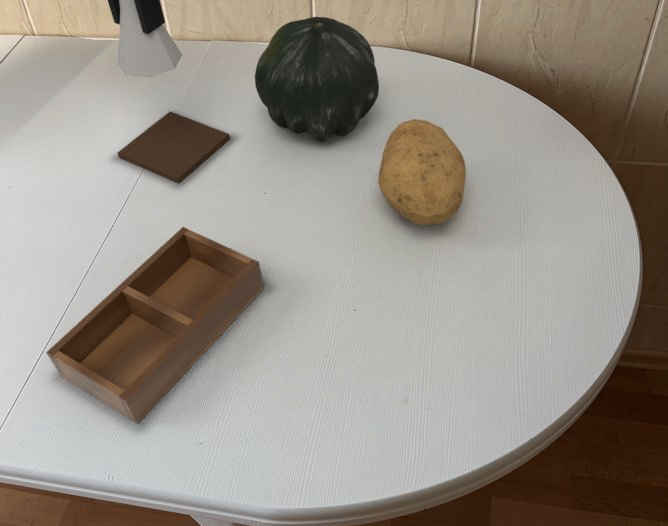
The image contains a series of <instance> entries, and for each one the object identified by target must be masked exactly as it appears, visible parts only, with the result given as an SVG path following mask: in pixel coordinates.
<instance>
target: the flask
mask: <svg viewBox="0 0 668 526" xmlns="http://www.w3.org/2000/svg"><path fill="white" fill-rule="evenodd" d="M119 3H120V25H119V34H118V35H119V39H118V51H117V65H118V66H119V68H120V70H121V71H122V73H123V75H124V76H125V77H143V78H152V77H154V76H158V75H161V74H163V73H167V72H171V71H174V70H176V69H177V66H178V65H179V62H180V60H181V59H182V57H183V53H182V52H181V50H180V48H179V47H178V46H177V44H176V43H175V41H174V39H173V38H172V36H171V35H170V33H169V31H168V30H167V29H166V27H165V25H164V24H162V25H161V26H160V27H158V28H157V29H155V30H154V31H152V32H151V33H149V34H146V33H143V31H142V27H141V24H140V20H139V16H138V13H137V9H136V6H135V2H134V0H119Z"/></svg>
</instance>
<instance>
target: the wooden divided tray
mask: <svg viewBox="0 0 668 526" xmlns="http://www.w3.org/2000/svg"><path fill="white" fill-rule="evenodd" d="M260 265H261V264H260V261H258V260H256V259H254V258H252V257H250V256H247V255H245V254H243V253H241V252H239V251H237V250H234V249H232V248H230V247H228V246H226V245H224V244H222V243H220V242H217V241H215V240H213V239H211V238H209V237H206V236H204V235H202V234H199V233H197V232H195V231H193V230H192V229H189V228H186V227H184V226H182V227H181V228H180V229H179V230H178V231H176V233H174V235H172V236H171V237H170V238H169V239H168V240H167V241H166V242H164V243H163V244H162V245H161V246H160V247H159V248H158V249H157V250H156V251H155V252H154V253H153V254H152V255H151V256H149V258H147V259H146V260H144V262H143V263H142V264H141V265H139V267H137V268H136V269H135V270H134V271H133V272H132V273H131V274H130V275H129V276H128V277H126V278H125V279H124V280H123V281H122V282H121V283H120V284H119V285H118V286H117V287H115V288H114V290H112V291H111V292H110V293H109V294H108V295H107V296H106V297H105V298H104V299H102V300H101V302H99V304H97V305H96V306H94V308H93V309H92V310H90V312H89V313H87V314H86V315H85V316H84V317H83V318H82V319H81V320H80V321H79V322H78V323H77V324H75V325H74V326H73V327H72V328H71V329H70V330H69V331H68V332H66V334H64V336H62V337H61V338H60V339H59V340H58V341H57V342H56V343H55V344H54V345H53V346H52V347H50V348H49V349H48V350H47V351H46V355H47V357H48V358H49V359H50V361H51V364H52V365H53V366H54V368H55V369H56V371H57V372H58V374H59V376H60V377H61V378H62V379H64V380H65V381H66V382H69V383H71V384H72V385H73V386H75V387H77V388H78V389H80V390H81V391H83V392H85V393H87V394H88V395H90V396H92V397H93V398H95V399H96V400H97V401H100V402H101V403H103V404H104V405H106V406H107V407H109V408H111V409H112V410H114V411H116V412H117V413H119V414H120V415H122V416H124V417H125V418H127V419H129V420H131V421H132V422H134V423H135V424H137V425H139V424H140V423H141V421H142V420H143V419H144V418H145V417H146V416H147V415H148V414H149V413H150V412H151V411H152V410H153V409H154V408H155V406H157V404H158V403H160V401H161V400H162V399H163V398H164V397H165V396H166V394H168V392H169V391H170V390H171V389H172V388H173V387H174V386H175V385H176V384H177V383H178V381H180V379H181V378H182V377H183V376H184V375H185V374H186V373H187V372H188V371H189V370H190V369H191V368H192V366H194V364H195V363H196V362H197V361H198V360H199V359H200V358H201V357H202V356H203V355H204V354H205V352H207V351H208V349H209V348H210V347H212V345H213V344H214V343H215V342H216V341H217V340H218V338H220V337H221V335H222V334H223V333H225V331H226V330H227V329H228V328H229V327H230V326H231V325H232V323H233V322H235V320H236V319H237V318H238V317H239V316H240V315H241V314H242V313H243V312H244V310H246V309H247V307H248V306H250V304H251V303H252V302H253V301H254V300H255V299H256V298H257V297H258V296H259V295H260V293H262V291H263V290H264V288H265V286H264V281H263V276H262V271H261V266H260Z"/></svg>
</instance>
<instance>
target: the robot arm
mask: <svg viewBox="0 0 668 526" xmlns="http://www.w3.org/2000/svg"><path fill="white" fill-rule="evenodd" d="M134 2H135V6H136V9H137V13H138V16H139V20H140V24H141V27H142V31H143V33H146V34H149V33H151V32H152V31H154V30H155V29H157V28H158V27H160V26H161V25H162V24H163V25H164V24H166V20H165V16H164V11H163V8H162V4H161V0H134ZM107 3H108V6H109V9H110V13H111V17H112V20H113V23H114V24H115V25H119V26H120V3H119V0H107Z"/></svg>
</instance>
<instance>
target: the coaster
mask: <svg viewBox="0 0 668 526" xmlns="http://www.w3.org/2000/svg"><path fill="white" fill-rule="evenodd" d="M230 140H231V135H230V134H229V133H227V132H226V131H222V130H219V129H217V128H214V127H212V126H209V125H207V124H204V123H202V122H199V121H197V120H194V119H191V118H188V117H186V116H184V115H181V114H178V113H176V112H173V111H171V110H170V111H168V112H167V113H166V114H164V115H163V116H162V117H161V118H160V119H158V120H157V121H156V122H154V123H153V124H152V125H150V126H149V127H148V128H147V129H146V130H144V131H143V132H141V133H140V134H139V135H137V137H135V138H134V139H133V140H132V141H130V142H129V143H128V144H127V145H125V146H124V147H123V148H121V149H120V150H119V151H117V156H118V158H119V159H120V160H121V159H122V160H123V161H126V162H128V163H131V164H133V165H135V166H136V167H137V166H138V167H140V168H142V169H144V170H146V171H149V172H151V173H153V174H156V175H158V176H160V177H162V178H165V179H167V180H169V181H172V182H175V183H177V184H181V182H182V181H184V180H185V179H186V178H187V177H188V176H190V175H191V174H192V173H193V172H194V171H195V170H196V169H197V168H199V167H200V166H201V165H202V164H203V163H205V161H207V160H208V159H209V158H210V157H212V155H214V154H215V153H216V152H217V151H218V150H219V149H220V148H222V147H223V146H224V145H225V144H226V143H227V142H229V141H230Z"/></svg>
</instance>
